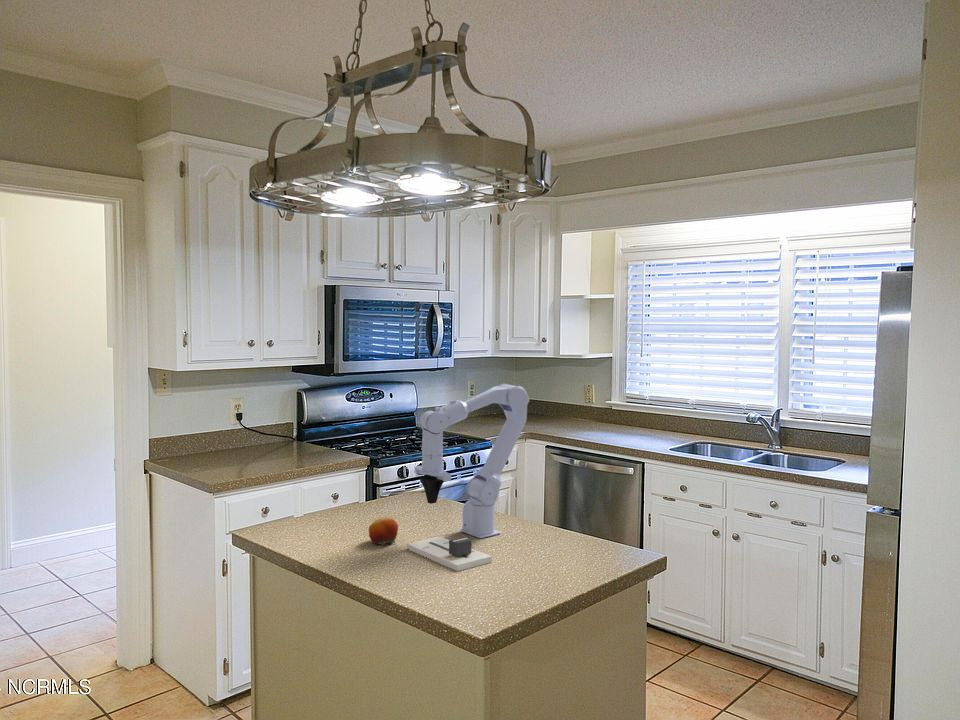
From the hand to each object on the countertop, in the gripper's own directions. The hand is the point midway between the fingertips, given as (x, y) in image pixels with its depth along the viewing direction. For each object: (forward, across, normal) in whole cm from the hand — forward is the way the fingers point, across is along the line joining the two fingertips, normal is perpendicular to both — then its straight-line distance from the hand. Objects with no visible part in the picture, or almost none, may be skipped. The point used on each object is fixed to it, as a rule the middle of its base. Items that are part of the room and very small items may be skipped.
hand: (432, 502), depth 204 cm
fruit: (+11, -6, -12) cm, 17 cm away
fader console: (+10, +14, -5) cm, 18 cm away
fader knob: (+9, +19, -5) cm, 22 cm away
